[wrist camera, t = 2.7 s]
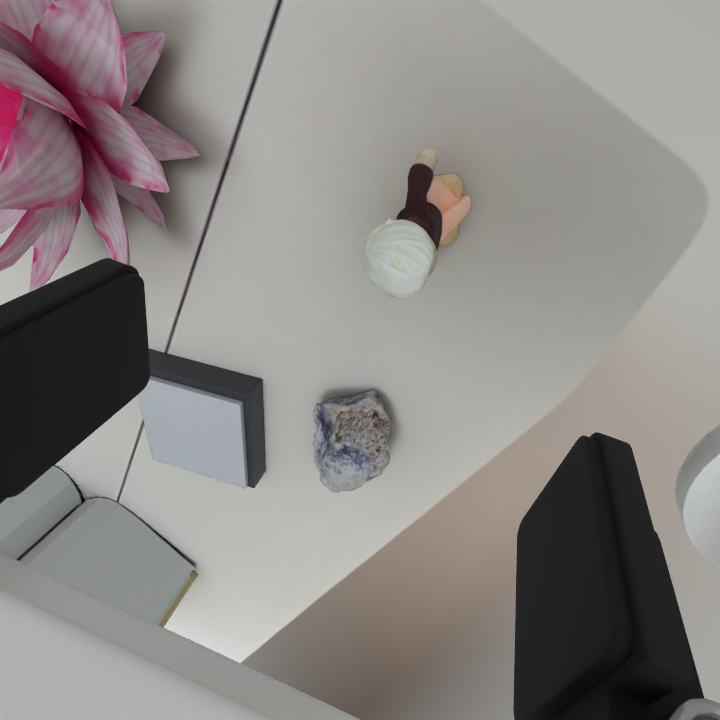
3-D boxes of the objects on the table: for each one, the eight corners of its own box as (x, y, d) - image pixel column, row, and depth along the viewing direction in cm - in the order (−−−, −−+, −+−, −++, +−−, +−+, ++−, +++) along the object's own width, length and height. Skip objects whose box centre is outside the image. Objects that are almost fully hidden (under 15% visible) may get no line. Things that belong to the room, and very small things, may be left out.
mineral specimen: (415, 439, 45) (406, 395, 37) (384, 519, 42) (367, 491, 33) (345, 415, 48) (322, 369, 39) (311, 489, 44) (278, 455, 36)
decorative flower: (-33, 151, 38) (-292, 191, 26) (-23, -185, 26) (-507, -406, 14) (182, 307, 40) (32, 411, 28) (288, 61, 28) (101, 58, 16)
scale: (262, 379, 42) (245, 398, 39) (265, 470, 49) (251, 492, 46) (148, 348, 44) (125, 365, 42) (166, 440, 51) (147, 459, 48)
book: (-30, 449, 65) (-282, 601, 43) (-26, 411, 61) (-298, 555, 40) (194, 580, 66) (56, 793, 44) (211, 550, 62) (70, 765, 41)
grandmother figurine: (473, 258, 31) (446, 354, 20) (416, 260, 32) (363, 352, 22) (471, 130, 27) (436, 169, 17) (406, 138, 28) (336, 179, 18)
